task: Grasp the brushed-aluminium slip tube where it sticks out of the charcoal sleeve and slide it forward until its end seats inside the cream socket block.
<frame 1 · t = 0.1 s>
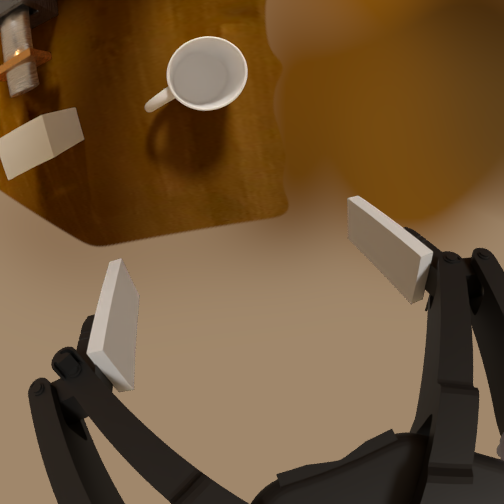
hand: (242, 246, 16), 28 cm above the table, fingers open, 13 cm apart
sleeve: (35, 0, 20), on the table
slip tube: (14, 23, 17), point 7 cm above the table, slide at 0.0 cm
socket block: (59, 132, 33), on the table
mug: (188, 84, 35), on the table
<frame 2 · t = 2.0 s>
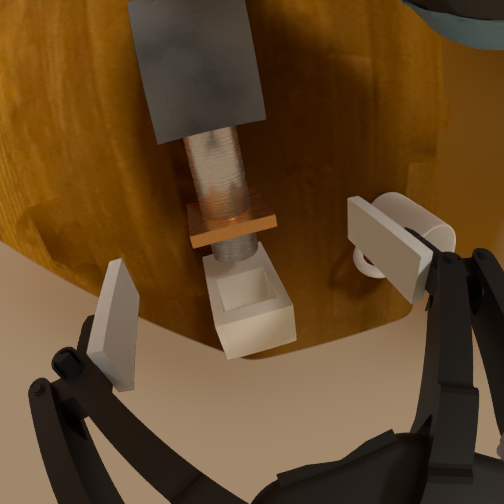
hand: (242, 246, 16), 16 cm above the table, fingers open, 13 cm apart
sleeve: (190, 68, 24), on the table
slip tube: (210, 137, 21), point 8 cm above the table, slide at 0.0 cm
socket block: (235, 266, 36), on the table
mug: (373, 223, 38), on the table
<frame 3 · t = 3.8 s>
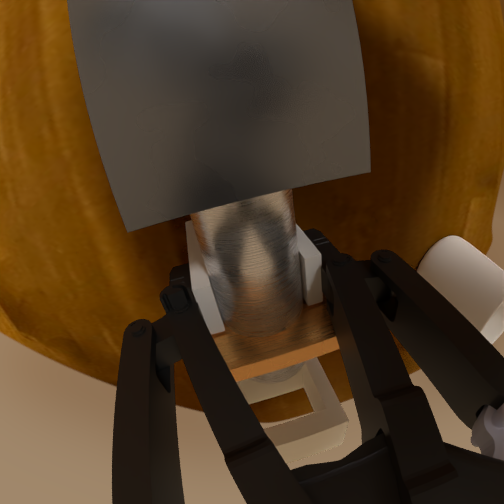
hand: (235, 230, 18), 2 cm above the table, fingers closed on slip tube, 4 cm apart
sleeve: (195, 58, 14), on the table
slip tube: (238, 189, 11), point 8 cm above the table, slide at 0.0 cm, touching gripper
socket block: (258, 339, 27), on the table
mug: (425, 273, 29), on the table
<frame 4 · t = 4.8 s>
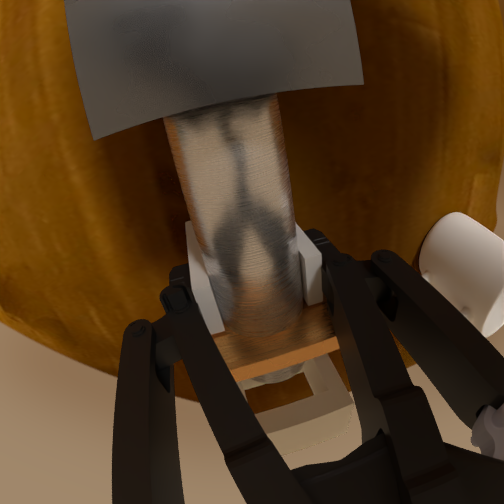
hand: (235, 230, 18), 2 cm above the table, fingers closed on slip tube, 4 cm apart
sleeve: (186, 20, 13), on the table
slip tube: (237, 189, 11), point 8 cm above the table, slide at 2.6 cm, touching gripper
socket block: (254, 319, 25), on the table
mug: (430, 252, 27), on the table
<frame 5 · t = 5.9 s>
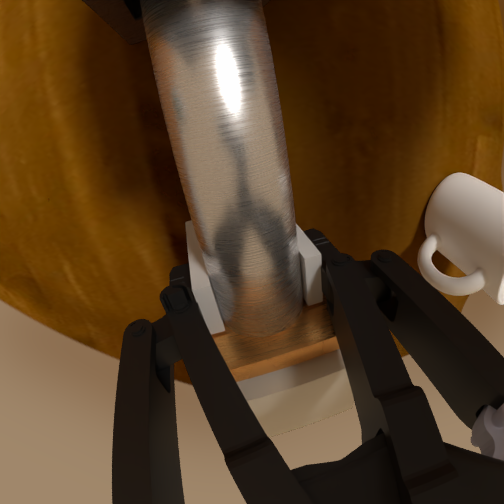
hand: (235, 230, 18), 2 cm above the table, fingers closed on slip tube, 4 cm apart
slip tube: (238, 189, 11), point 8 cm above the table, slide at 7.0 cm, touching gripper
socket block: (244, 280, 23), on the table
mug: (435, 216, 25), on the table
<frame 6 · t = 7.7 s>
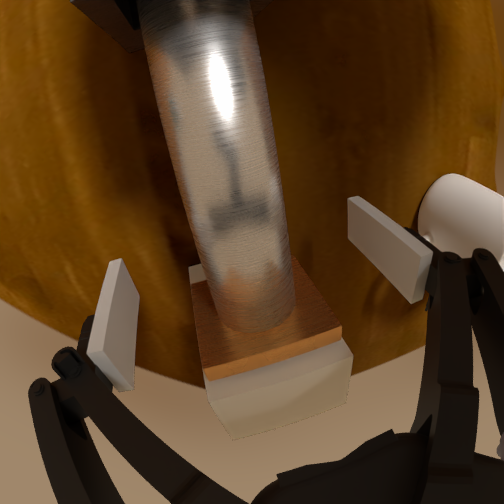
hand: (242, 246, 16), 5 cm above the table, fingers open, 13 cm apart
slip tube: (231, 192, 12), point 7 cm above the table, slide at 7.0 cm
socket block: (240, 280, 23), on the table
mug: (429, 217, 26), on the table
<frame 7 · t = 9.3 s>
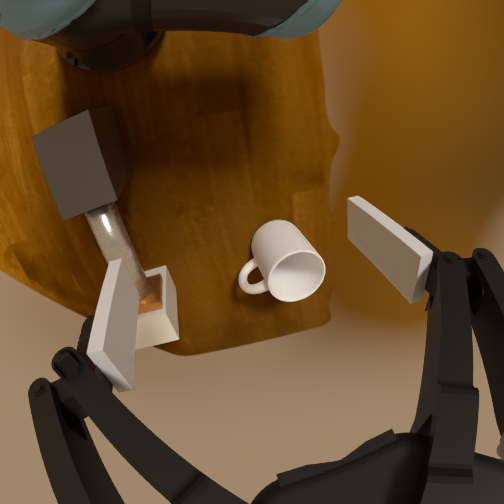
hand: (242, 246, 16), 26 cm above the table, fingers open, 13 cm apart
sleeve: (98, 148, 34), on the table
slip tube: (120, 256, 35), point 8 cm above the table, slide at 7.0 cm
socket block: (151, 283, 47), on the table
mug: (264, 246, 49), on the table
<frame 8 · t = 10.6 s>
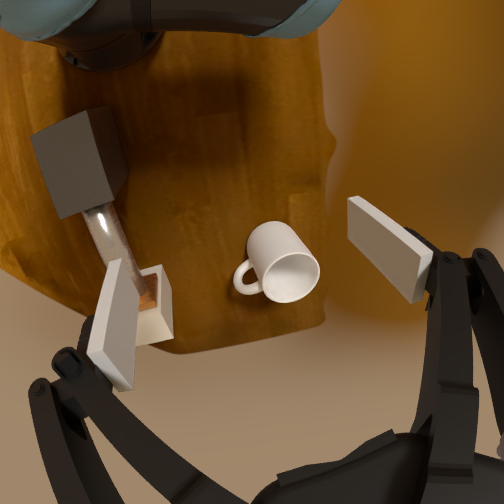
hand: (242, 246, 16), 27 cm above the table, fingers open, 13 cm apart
sleeve: (96, 147, 34), on the table
slip tube: (116, 255, 35), point 7 cm above the table, slide at 7.0 cm
socket block: (146, 282, 47), on the table
mug: (259, 247, 49), on the table
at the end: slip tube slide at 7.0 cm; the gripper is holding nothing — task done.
